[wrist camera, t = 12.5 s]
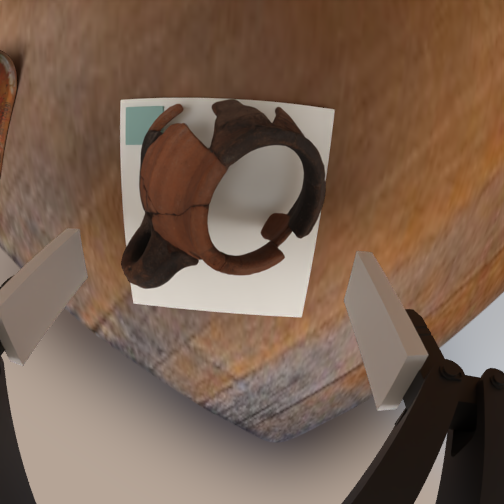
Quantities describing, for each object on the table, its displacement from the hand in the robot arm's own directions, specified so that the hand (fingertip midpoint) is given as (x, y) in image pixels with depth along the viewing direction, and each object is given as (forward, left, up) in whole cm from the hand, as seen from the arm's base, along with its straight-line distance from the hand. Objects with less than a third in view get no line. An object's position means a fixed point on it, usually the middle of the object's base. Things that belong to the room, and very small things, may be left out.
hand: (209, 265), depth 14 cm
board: (0, 0, -8) cm, 8 cm away
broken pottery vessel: (+1, -2, -7) cm, 7 cm away
